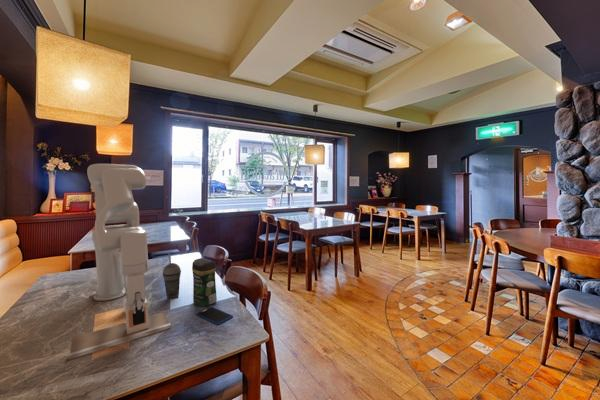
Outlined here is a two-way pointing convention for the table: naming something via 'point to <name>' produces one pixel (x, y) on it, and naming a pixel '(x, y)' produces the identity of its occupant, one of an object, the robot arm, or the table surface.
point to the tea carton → (129, 318)
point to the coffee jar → (204, 282)
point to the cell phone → (214, 315)
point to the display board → (114, 336)
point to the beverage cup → (172, 280)
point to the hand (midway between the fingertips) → (137, 317)
